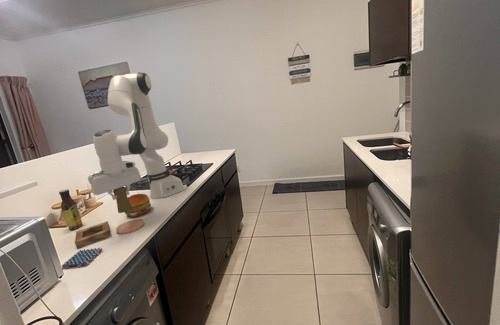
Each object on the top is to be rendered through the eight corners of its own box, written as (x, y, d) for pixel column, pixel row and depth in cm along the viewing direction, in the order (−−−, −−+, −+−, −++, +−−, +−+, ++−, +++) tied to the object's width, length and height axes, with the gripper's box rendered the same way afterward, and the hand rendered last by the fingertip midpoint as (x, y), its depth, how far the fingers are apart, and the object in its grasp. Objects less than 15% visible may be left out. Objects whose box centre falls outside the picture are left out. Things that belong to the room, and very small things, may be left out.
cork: (115, 213, 115) (108, 190, 113) (121, 208, 121) (115, 186, 119) (129, 211, 115) (122, 188, 113) (134, 206, 121) (128, 184, 119)
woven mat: (60, 271, 95) (58, 266, 94) (80, 254, 105) (79, 249, 104) (87, 268, 94) (85, 263, 93) (104, 251, 104) (103, 246, 103)
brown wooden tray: (109, 226, 126) (107, 221, 125) (111, 236, 115) (109, 230, 114) (78, 237, 119) (76, 231, 119) (77, 248, 108) (74, 242, 108)
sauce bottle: (79, 228, 129) (66, 191, 124) (66, 231, 128) (52, 194, 124) (85, 223, 135) (73, 187, 131) (73, 225, 135) (60, 190, 130)
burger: (148, 216, 131) (142, 197, 128) (121, 221, 130) (115, 202, 128) (155, 205, 144) (150, 188, 142) (131, 210, 144) (126, 193, 141)
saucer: (142, 218, 129) (141, 216, 128) (146, 226, 119) (145, 224, 118) (115, 227, 123) (115, 225, 123) (118, 237, 113) (117, 234, 113)
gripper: (89, 175, 104) (99, 207, 108) (138, 161, 119) (145, 190, 122) (84, 174, 109) (94, 204, 112) (132, 161, 123) (139, 188, 126)
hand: (121, 197), depth 117 cm, fingers closed on cork, 4 cm apart
